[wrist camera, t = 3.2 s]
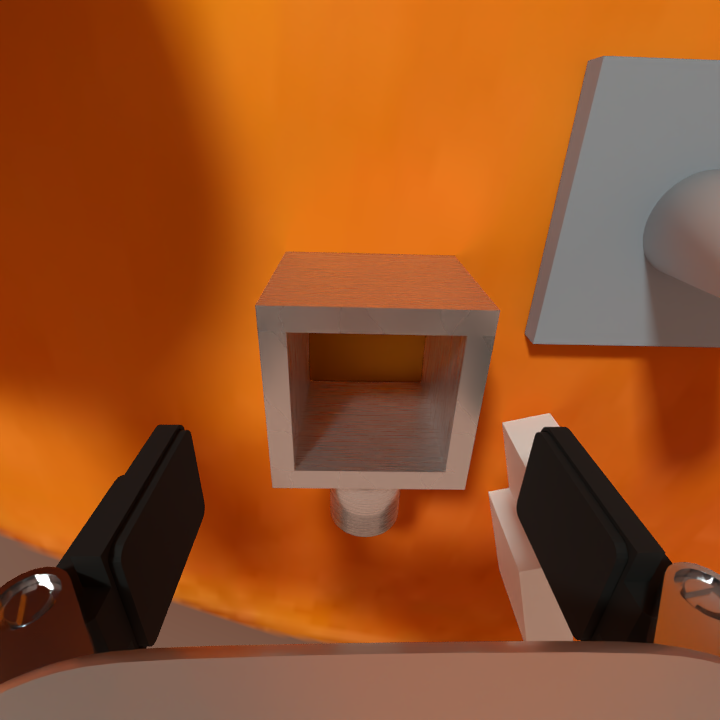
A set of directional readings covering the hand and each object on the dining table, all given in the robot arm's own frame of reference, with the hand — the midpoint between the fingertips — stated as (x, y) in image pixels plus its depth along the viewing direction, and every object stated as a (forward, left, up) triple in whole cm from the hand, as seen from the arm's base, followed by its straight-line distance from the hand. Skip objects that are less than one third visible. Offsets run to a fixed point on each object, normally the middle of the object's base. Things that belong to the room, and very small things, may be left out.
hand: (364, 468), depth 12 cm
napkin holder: (-10, +9, -9) cm, 16 cm away
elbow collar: (0, +1, -8) cm, 8 cm away
